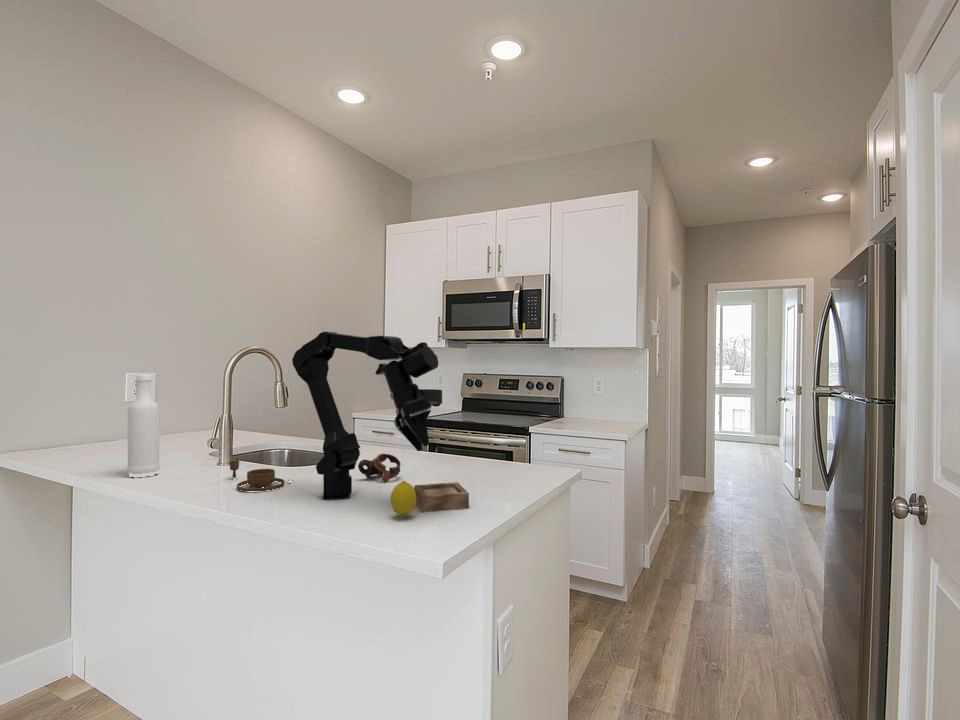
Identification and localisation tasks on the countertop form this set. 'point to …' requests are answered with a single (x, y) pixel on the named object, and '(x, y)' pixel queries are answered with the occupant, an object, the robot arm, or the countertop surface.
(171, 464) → the countertop surface
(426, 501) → the walnut base
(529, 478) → the countertop surface
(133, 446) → the bottle
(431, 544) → the countertop surface
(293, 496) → the countertop surface
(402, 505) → the lemon
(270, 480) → the place setting
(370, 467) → the brown twisted loop
